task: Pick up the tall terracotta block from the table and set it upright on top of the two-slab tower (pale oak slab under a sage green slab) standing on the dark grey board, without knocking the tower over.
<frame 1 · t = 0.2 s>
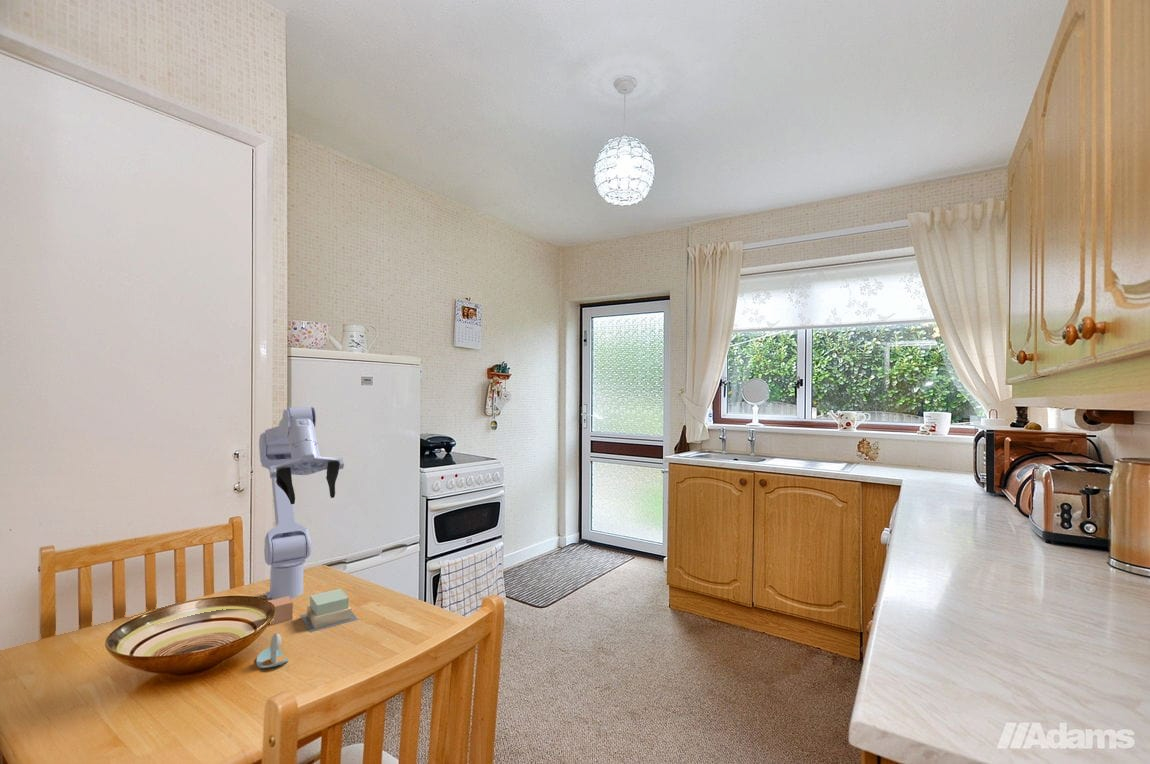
hand: (313, 498, 109), 31 cm above the table, tool tilted 45°, fingers open, 7 cm apart
slate board: (328, 621, 118), on the table
pacifier: (268, 669, 99), on the table
sage slab: (329, 607, 118), point 3 cm above the table, touching oak slab
oak slab: (328, 617, 118), point 1 cm above the table, touching sage slab, slate board
terracotta block: (279, 623, 117), on the table
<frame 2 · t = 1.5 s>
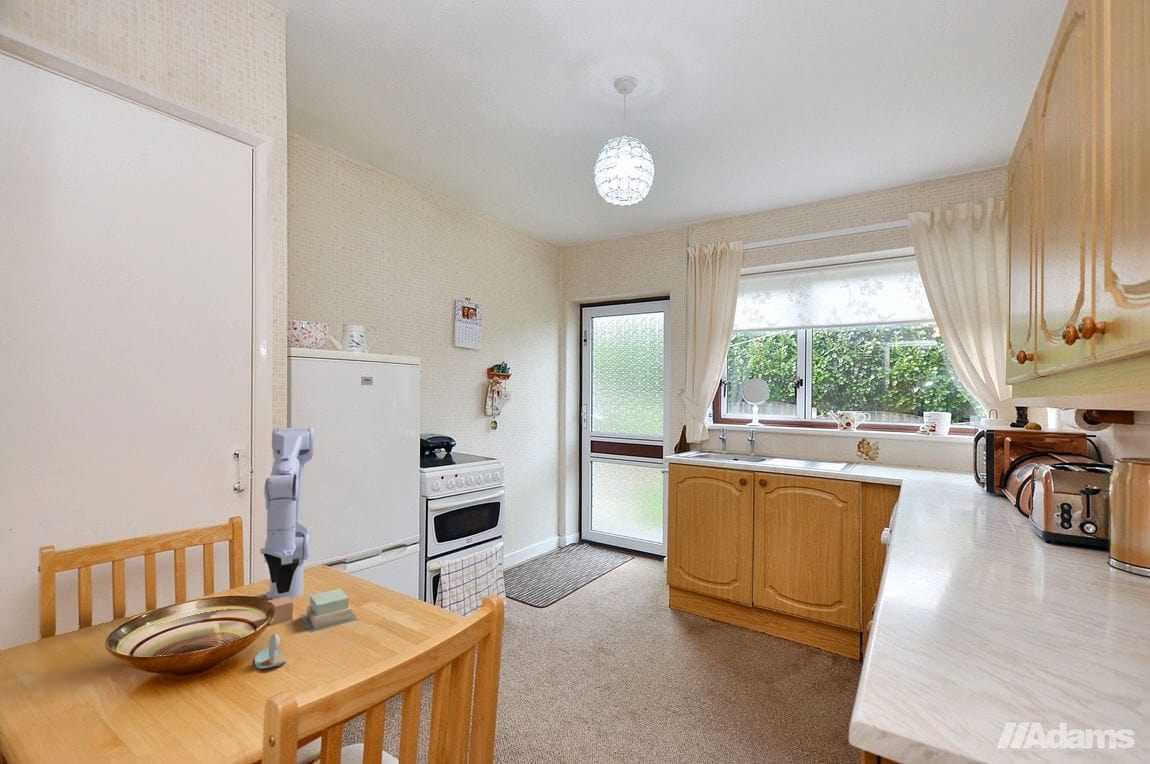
hand: (280, 586, 117), 8 cm above the table, tool pointing down, fingers open, 7 cm apart
nothing on the table moved.
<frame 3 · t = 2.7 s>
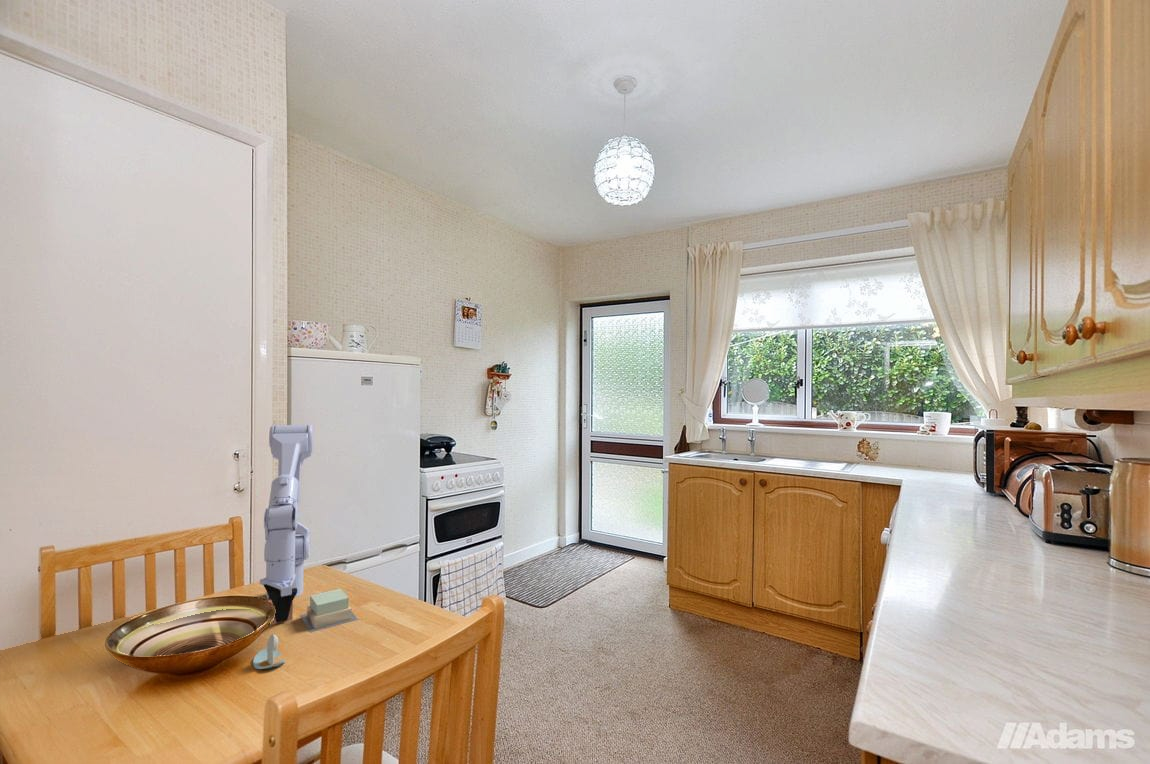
hand: (279, 616, 117), 1 cm above the table, tool pointing down, fingers closed on terracotta block, 4 cm apart
terracotta block: (279, 623, 117), on the table, touching gripper
everything else where it was.
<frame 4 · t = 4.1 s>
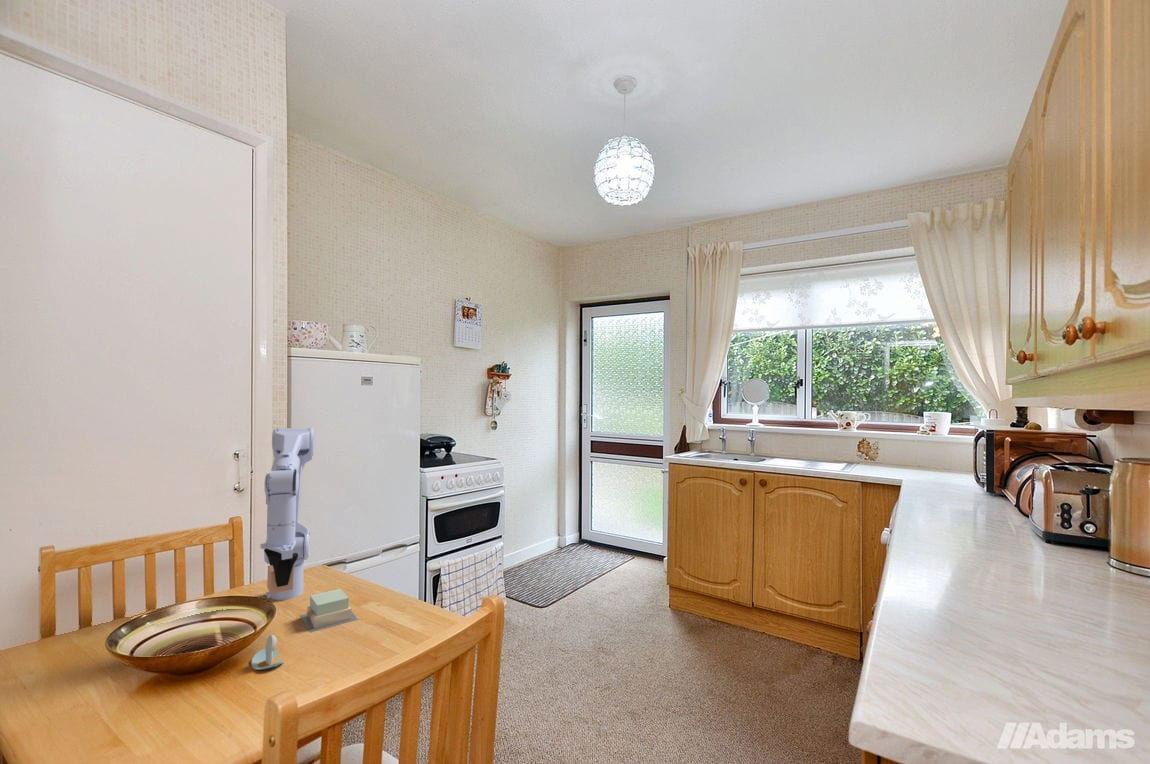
hand: (280, 582, 117), 9 cm above the table, tool pointing down, fingers closed on terracotta block, 4 cm apart
terracotta block: (280, 588, 117), point 8 cm above the table, touching gripper
everything else where it was.
when the fingers open (8 cm above the table, at t = 5.6 s): terracotta block stays where it is, resting on sage slab.
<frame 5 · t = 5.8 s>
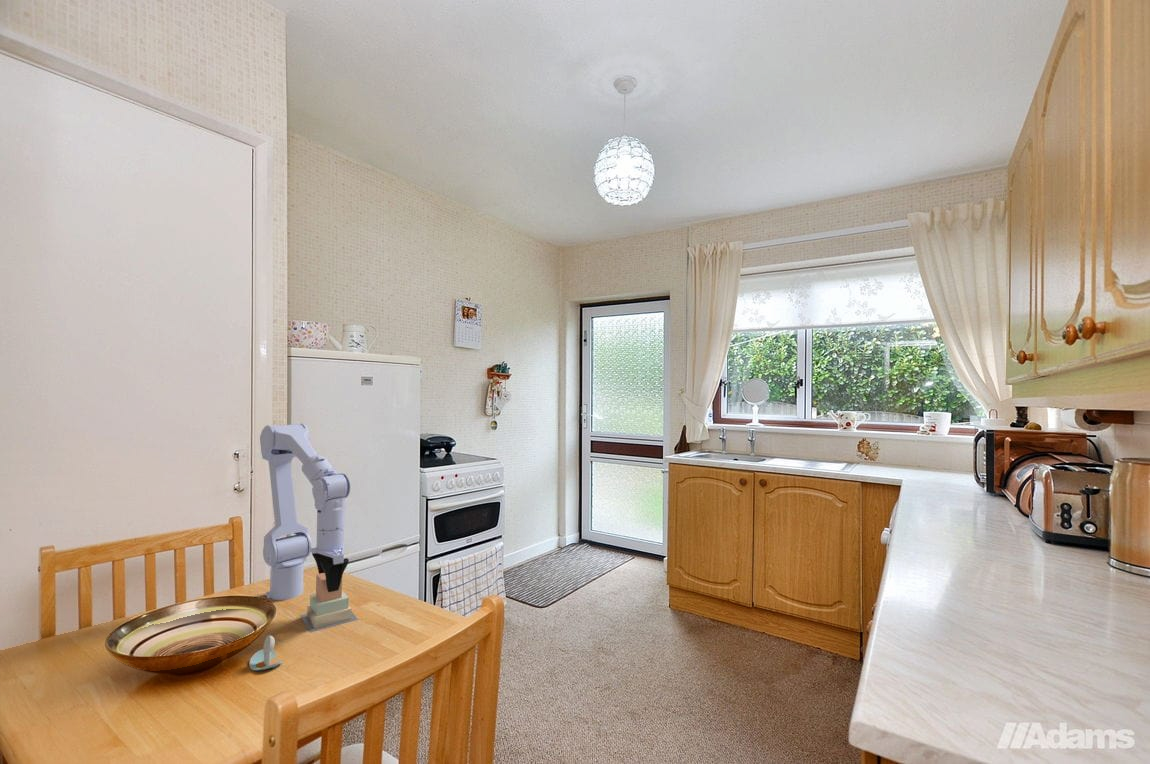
hand: (329, 586, 118), 8 cm above the table, tool pointing down, fingers open, 6 cm apart
sage slab: (329, 607, 118), point 3 cm above the table, touching oak slab, terracotta block
terracotta block: (328, 596, 118), point 6 cm above the table, touching sage slab
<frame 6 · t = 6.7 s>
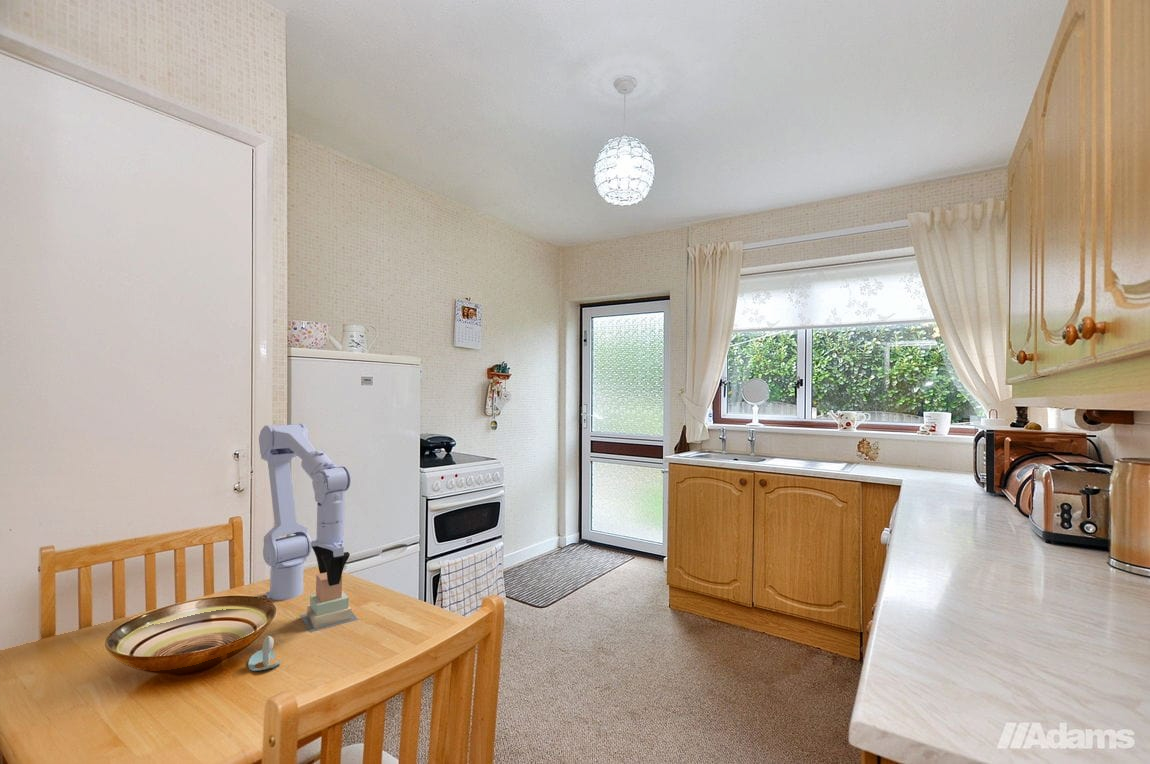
hand: (329, 579, 118), 10 cm above the table, tool pointing down, fingers open, 7 cm apart
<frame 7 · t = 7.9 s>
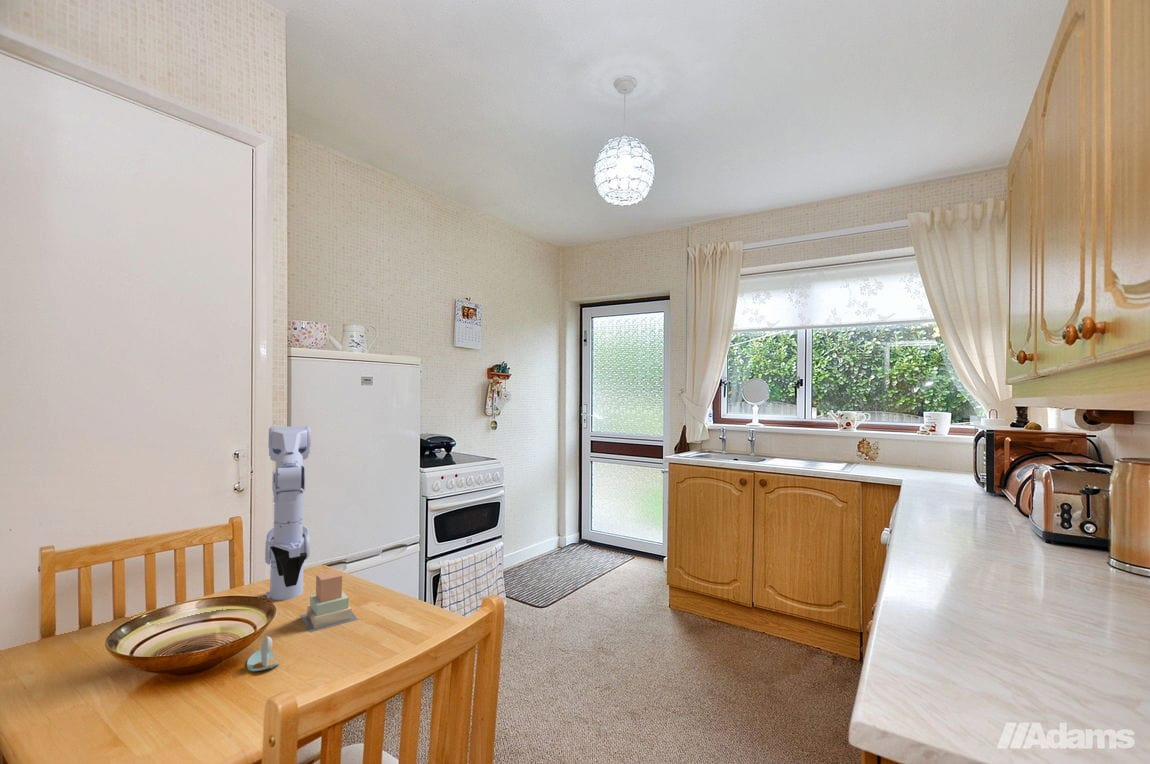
hand: (287, 580, 116), 10 cm above the table, tool pointing down, fingers open, 7 cm apart
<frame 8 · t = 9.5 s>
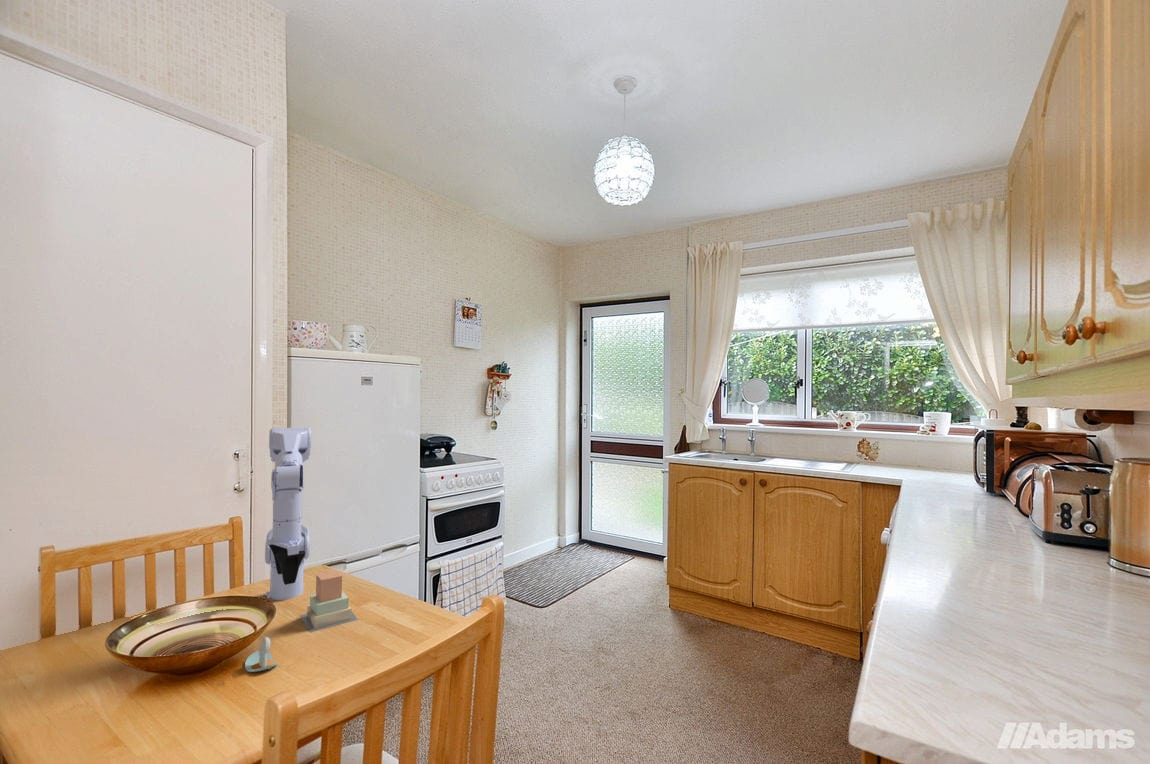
hand: (286, 578, 117), 10 cm above the table, tool pointing down, fingers open, 7 cm apart
at the end: terracotta block 0.1 cm off-centre on the sage slab, point 2.4 cm above the sage slab's base; terracotta block tilted 0°; sage slab moved 0.0 cm from its start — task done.
